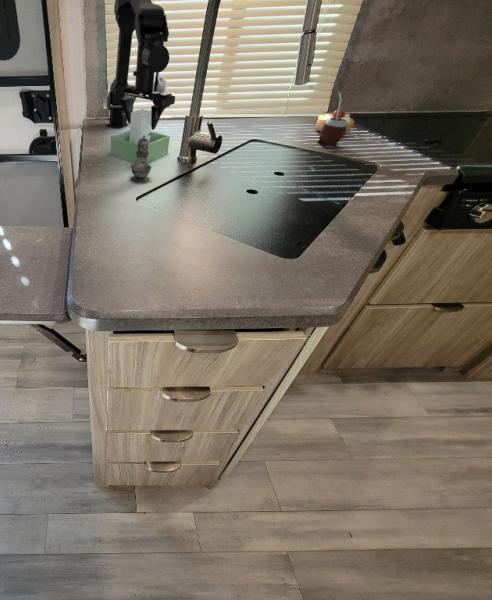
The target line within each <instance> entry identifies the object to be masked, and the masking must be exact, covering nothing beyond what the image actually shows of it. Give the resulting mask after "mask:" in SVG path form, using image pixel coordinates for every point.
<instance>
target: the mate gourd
mask: <svg viewBox="0 0 492 600" xmlns="http://www.w3.org/2000/svg"><path fill="white" fill-rule="evenodd" d="M338 98H339V101H338V107H337V110H338V111H337V116H336V118H330V119H328V120H327V121H326V122H325V124H324V125H323V127H322V130H321V132H320V133H319V139H318V140H317V141H316V142H317V143H318V144H322V145H321V146H322V147H326V146H330V147H334V148H336V147H337V146H338V143H339V142H340V141H341V140H342V138H343V134H344V133H345V131H346V128H347V121H346V120H345V119H342V118H338V115H339V111H340V110H341V108H342V107H341V106H342V104H343V99H342V93H341V92H340V91H338ZM345 134H346V133H345ZM345 134H344V135H345Z"/></svg>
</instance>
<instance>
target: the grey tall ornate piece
mask: <svg viewBox="0 0 492 600" xmlns="http://www.w3.org/2000/svg"><path fill="white" fill-rule="evenodd" d="M148 145H149V141H148V140H147V139H146V138H145V135H144V136H143V138H142V139H140V140H139V141H138V150H137V152H136V154H137V159H136V163H135V162H134V163H133V164H131V165H130V169H131V173H132V175H133V176H132V177H130V181H132V182H133V183H134V184H135V183H136V184H147V183H149V182H150V178H149V177H148V176H149V174H150V172H151V171H152V168H153V167H152V165H150V164H149V162H148V163H147V158H148V154H149V152H148Z"/></svg>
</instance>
